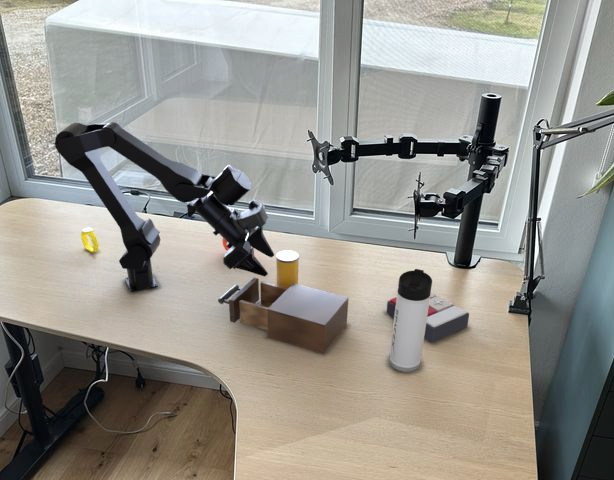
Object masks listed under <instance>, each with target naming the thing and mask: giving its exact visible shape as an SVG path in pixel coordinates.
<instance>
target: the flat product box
mask: <svg viewBox="0 0 614 480" xmlns="http://www.w3.org/2000/svg"><path fill="white" fill-rule="evenodd" d="M396 299H397V296H396V297H393V298H390V300H388V301H387V303H386V314H388V315H389V316H391V317H392V318H394V316H395V307H396ZM469 318H470V313H469V312H467V311H466V310H464V309H462V308H460V307H459V306H457V305H454V304H453V303H452V302H451V301H449V300H447V299H445V298H443V297H442V296H440V295H437V294H435V293H433V292H432V291H431V295H430V302H429V308H428V315H427V322H426V328H425V335H424V340H427V341H428V342H430V343H432V344H433V343H436V342H438V341H440V340H443V339H445V338H448V337H450V336H453V335H454V334H456V333H459V332H461V331H463V330H466V329H467V328H468V325H469Z"/></svg>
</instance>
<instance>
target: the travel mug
mask: <svg viewBox="0 0 614 480" xmlns="http://www.w3.org/2000/svg"><path fill="white" fill-rule="evenodd" d="M397 286H398V287H397V291H396V292H397V293H396V297H397V299H396V307H395V316H394V317H393V324H392V325H393V326H392V335H391V343H390V349H389V350H390V351H389V359H388V360H389V361H388V363H389V365H390V367H392V368H393V369H394V370H397V371H399V372H403V373H410V372H414V371H416V370H417V369H419V368H420V366H421V362H422V354H423V348H424V340H425V338H424V335H425V328H426V322H427V315H428V308H429V302H430V295H431V292H432V286H433V279H432V277H431V276H430V274H428V273H426V272H425V270H424V269H418V268H414V270H408V271H405V272H403V273H401V274H400V275H399V277H398V285H397Z"/></svg>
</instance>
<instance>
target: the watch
mask: <svg viewBox="0 0 614 480" xmlns="http://www.w3.org/2000/svg"><path fill="white" fill-rule="evenodd" d="M80 233H81V235H80V237H81V241H82V244H83V246H84V248H85V249H86V250H87V251H89V252H90V253H91V254H93V253H96V252H98V251H99V246H100V245H99V241H98V239H97V236H96V234H95V233H94V228H93V227H84V228H82V229H81V232H80ZM87 235H88V236H89V238H90V240H91V243H92V246H91V244H90V242H89V240H88V236H87Z"/></svg>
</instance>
